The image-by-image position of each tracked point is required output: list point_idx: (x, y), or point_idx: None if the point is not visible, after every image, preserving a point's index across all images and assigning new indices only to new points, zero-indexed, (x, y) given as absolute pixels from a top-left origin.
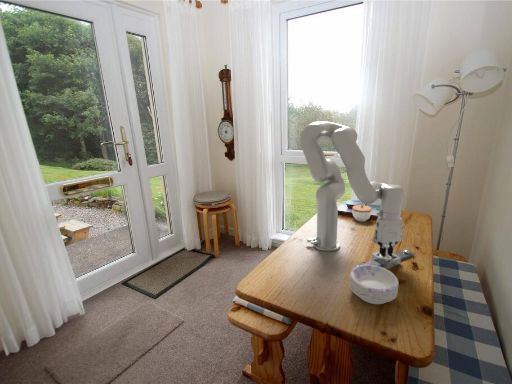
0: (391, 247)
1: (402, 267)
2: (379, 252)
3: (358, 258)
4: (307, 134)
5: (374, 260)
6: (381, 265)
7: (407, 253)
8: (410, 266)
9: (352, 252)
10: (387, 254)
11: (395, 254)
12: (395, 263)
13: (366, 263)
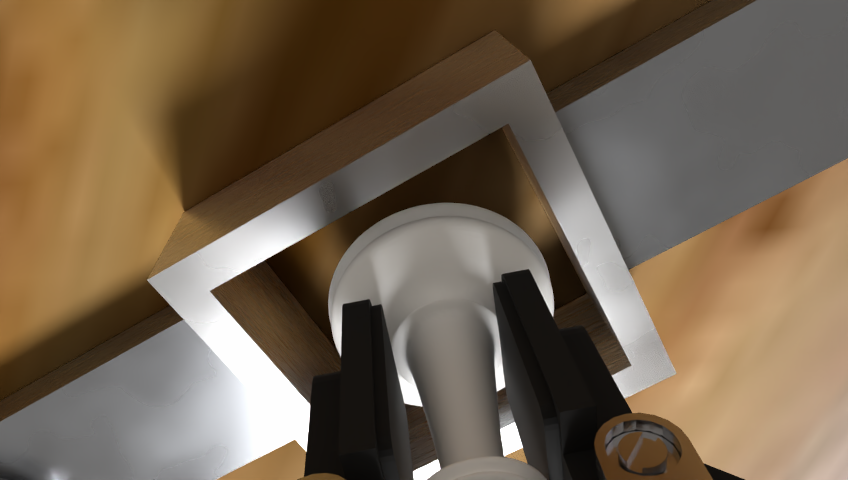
0: (366, 474)
1: (174, 100)
2: (512, 425)
3: (792, 325)
4: None
5: (639, 240)
6: (581, 91)
7: None
8: (10, 143)
9: (785, 460)
10: (430, 333)
11: (201, 443)
12: (292, 164)
13: (834, 132)
